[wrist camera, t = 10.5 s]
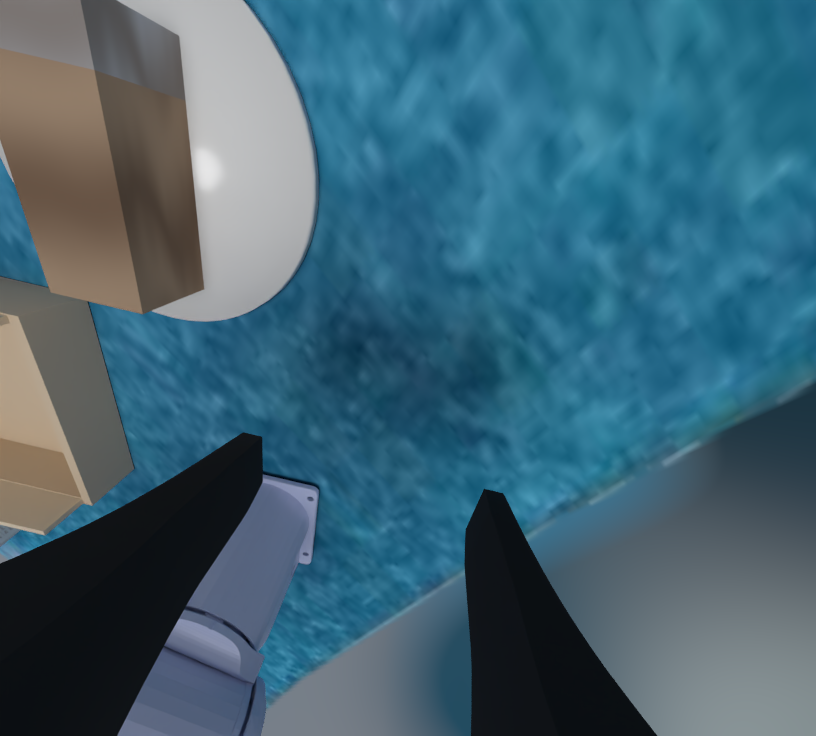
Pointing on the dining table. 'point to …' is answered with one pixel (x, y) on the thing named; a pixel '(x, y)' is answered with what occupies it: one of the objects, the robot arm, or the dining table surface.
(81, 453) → the wooden tray
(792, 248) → the dining table surface
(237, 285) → the plate
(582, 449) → the dining table surface
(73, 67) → the brown rectangular block
